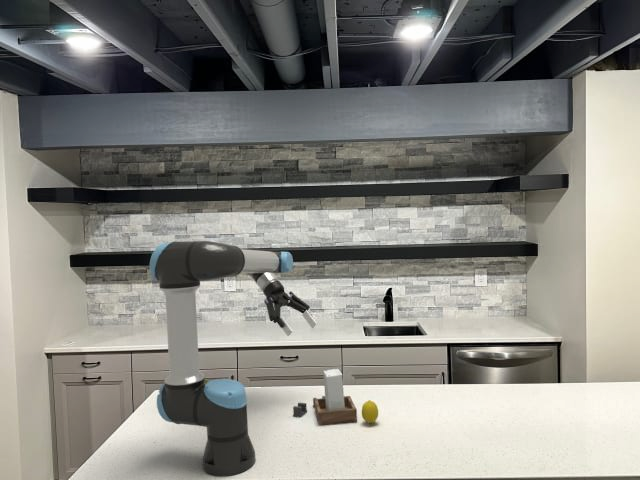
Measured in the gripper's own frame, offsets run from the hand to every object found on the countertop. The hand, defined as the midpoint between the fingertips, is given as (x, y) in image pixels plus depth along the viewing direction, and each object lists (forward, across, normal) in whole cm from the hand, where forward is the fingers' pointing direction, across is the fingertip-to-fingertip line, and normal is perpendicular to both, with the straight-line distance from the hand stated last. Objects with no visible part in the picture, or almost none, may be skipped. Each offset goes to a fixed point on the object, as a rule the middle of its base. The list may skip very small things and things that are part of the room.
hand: (302, 329), depth 179 cm
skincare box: (+29, -1, -12) cm, 31 cm away
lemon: (+40, -2, -3) cm, 40 cm away
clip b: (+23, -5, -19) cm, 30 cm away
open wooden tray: (+30, -1, -12) cm, 32 cm away
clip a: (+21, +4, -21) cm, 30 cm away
